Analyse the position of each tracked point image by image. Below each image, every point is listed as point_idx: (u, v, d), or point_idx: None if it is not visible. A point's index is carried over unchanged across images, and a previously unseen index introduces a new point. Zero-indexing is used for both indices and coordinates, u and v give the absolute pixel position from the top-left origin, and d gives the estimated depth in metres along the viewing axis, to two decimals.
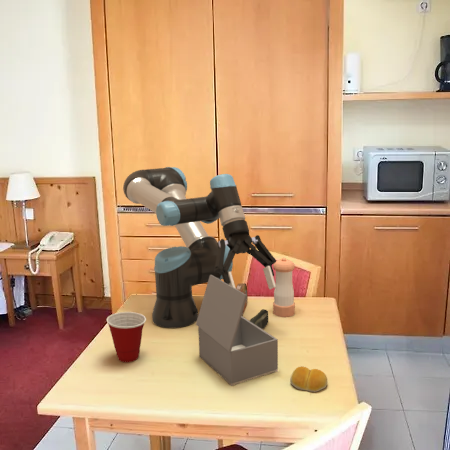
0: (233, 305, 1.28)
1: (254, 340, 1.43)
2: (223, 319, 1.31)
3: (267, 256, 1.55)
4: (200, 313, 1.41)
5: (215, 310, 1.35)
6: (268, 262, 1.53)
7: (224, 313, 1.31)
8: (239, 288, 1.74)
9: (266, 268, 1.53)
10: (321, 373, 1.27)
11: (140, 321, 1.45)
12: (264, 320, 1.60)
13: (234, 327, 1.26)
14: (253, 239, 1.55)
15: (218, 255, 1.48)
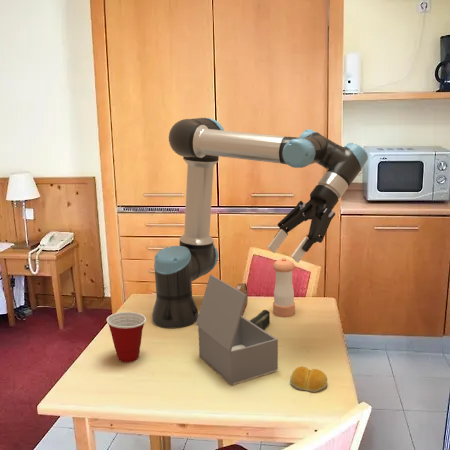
0: (233, 305, 1.28)
1: (254, 340, 1.43)
2: (223, 319, 1.31)
3: None
4: (200, 313, 1.41)
5: (215, 310, 1.35)
6: None
7: (224, 313, 1.31)
8: (239, 288, 1.74)
9: (285, 234, 1.46)
10: (321, 373, 1.27)
11: (140, 321, 1.45)
12: (265, 321, 1.60)
13: (234, 327, 1.26)
14: None
15: (324, 223, 1.36)
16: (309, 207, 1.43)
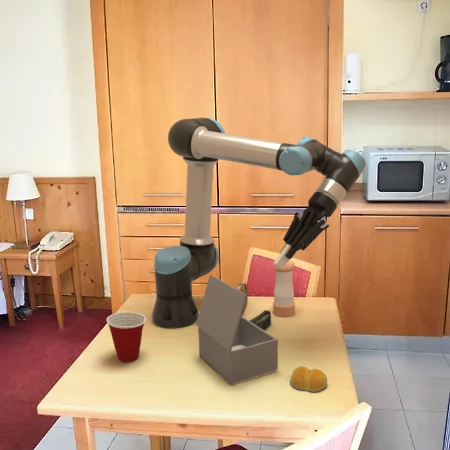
0: (233, 305, 1.28)
1: (254, 340, 1.43)
2: (223, 319, 1.31)
3: None
4: (200, 313, 1.41)
5: (215, 310, 1.35)
6: None
7: (224, 313, 1.31)
8: (239, 288, 1.74)
9: None
10: (321, 373, 1.27)
11: (140, 321, 1.45)
12: (265, 322, 1.60)
13: (234, 327, 1.26)
14: None
15: (312, 233, 1.37)
16: (308, 213, 1.42)
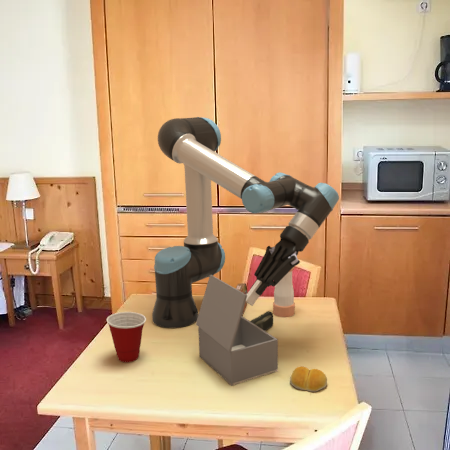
0: (233, 305, 1.28)
1: (254, 340, 1.43)
2: (223, 319, 1.31)
3: None
4: (200, 313, 1.41)
5: (215, 310, 1.35)
6: None
7: (224, 313, 1.31)
8: (239, 288, 1.74)
9: None
10: (321, 373, 1.27)
11: (140, 321, 1.45)
12: (266, 323, 1.59)
13: (234, 327, 1.26)
14: None
15: (283, 270, 1.35)
16: (280, 248, 1.40)
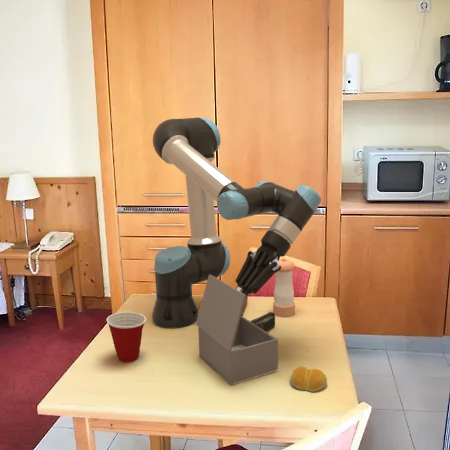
0: (232, 305, 1.28)
1: (254, 340, 1.43)
2: (223, 319, 1.31)
3: None
4: (200, 313, 1.41)
5: (214, 310, 1.35)
6: None
7: (223, 313, 1.31)
8: None
9: None
10: (320, 373, 1.27)
11: (140, 321, 1.45)
12: (267, 323, 1.58)
13: (233, 327, 1.26)
14: None
15: (264, 276, 1.31)
16: (261, 253, 1.36)
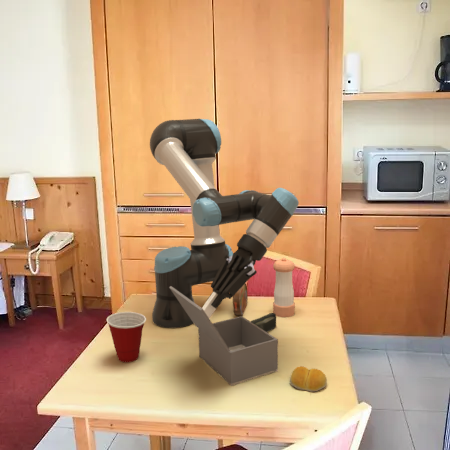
0: (201, 316, 1.24)
1: (254, 340, 1.43)
2: (205, 326, 1.29)
3: None
4: (190, 317, 1.40)
5: (195, 317, 1.32)
6: None
7: (202, 321, 1.28)
8: None
9: None
10: (320, 373, 1.27)
11: (140, 321, 1.45)
12: (268, 324, 1.58)
13: (216, 334, 1.24)
14: None
15: (239, 281, 1.28)
16: (237, 258, 1.33)
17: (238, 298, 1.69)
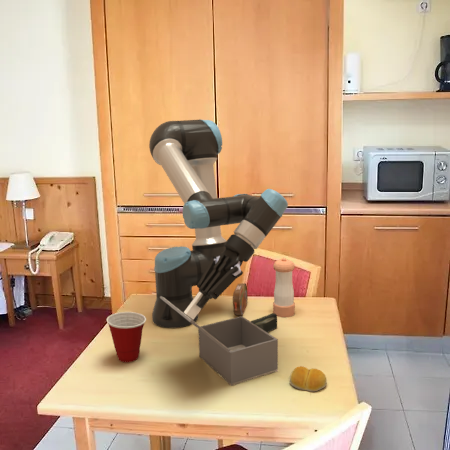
0: None
1: (254, 340, 1.43)
2: None
3: None
4: None
5: None
6: None
7: None
8: (239, 288, 1.74)
9: None
10: (320, 373, 1.27)
11: (140, 321, 1.45)
12: (268, 324, 1.57)
13: (212, 339, 1.24)
14: None
15: (225, 281, 1.27)
16: (224, 258, 1.32)
17: (238, 298, 1.69)
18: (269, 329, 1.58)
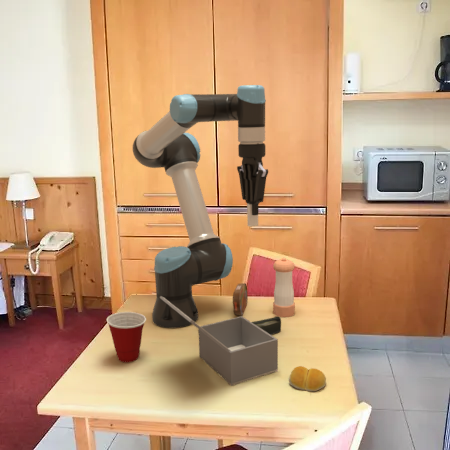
0: None
1: (254, 340, 1.43)
2: None
3: None
4: None
5: None
6: None
7: None
8: (239, 288, 1.74)
9: None
10: (320, 372, 1.28)
11: (140, 321, 1.45)
12: (268, 328, 1.55)
13: (212, 339, 1.24)
14: None
15: (260, 186, 1.41)
16: (246, 166, 1.44)
17: (238, 298, 1.69)
18: (270, 332, 1.56)
